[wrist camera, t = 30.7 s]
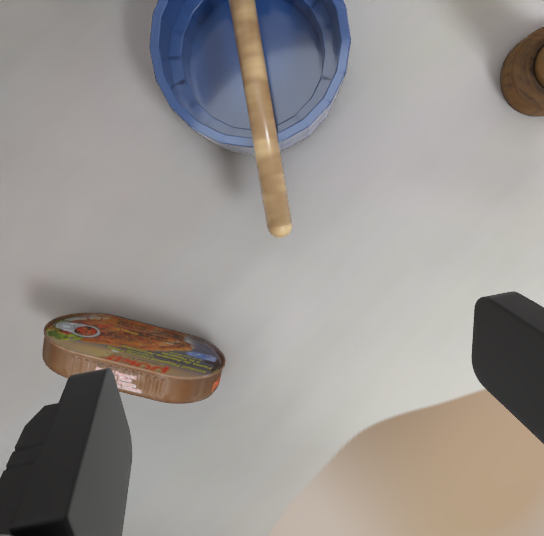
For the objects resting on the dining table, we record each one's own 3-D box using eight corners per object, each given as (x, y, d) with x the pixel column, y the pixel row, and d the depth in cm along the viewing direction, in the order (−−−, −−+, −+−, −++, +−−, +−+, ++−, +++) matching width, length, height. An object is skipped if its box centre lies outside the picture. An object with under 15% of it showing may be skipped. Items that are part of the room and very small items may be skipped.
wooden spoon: (256, 241, 35) (254, 243, 33) (193, -114, 32) (187, -132, 30) (308, 232, 35) (309, 234, 33) (250, -127, 31) (247, -146, 30)
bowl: (190, 168, 40) (172, 162, 34) (156, -4, 39) (131, -42, 33) (353, 138, 39) (363, 126, 33) (327, -41, 37) (332, -87, 32)
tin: (232, 345, 42) (216, 380, 34) (224, 376, 43) (207, 418, 35) (76, 304, 43) (22, 329, 34) (70, 336, 43) (16, 368, 35)
